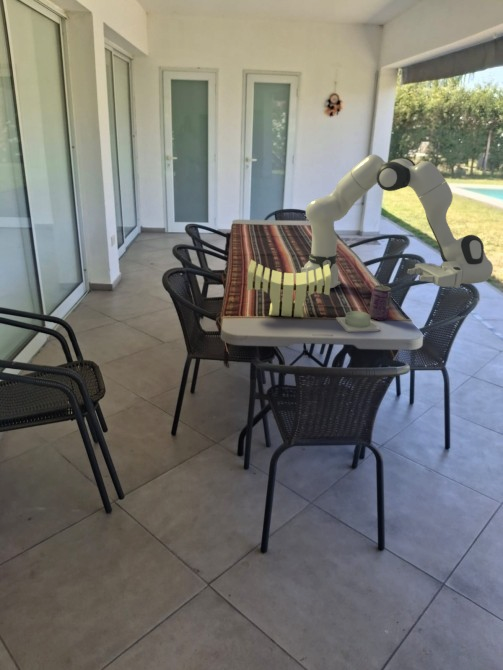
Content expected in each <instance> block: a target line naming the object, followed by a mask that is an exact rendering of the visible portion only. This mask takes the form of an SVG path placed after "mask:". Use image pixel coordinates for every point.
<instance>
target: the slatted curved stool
mask: <svg viewBox="0 0 503 670" xmlns="http://www.w3.org/2000/svg"><path fill="white" fill-rule="evenodd" d="M263 271H264V272H263ZM270 274H271V278H270ZM323 274H324V286H322V284H323V276H322V271H321V267H320V268H317V269H316V285H315V279H314V271H313V270H311V271H308V285H307V280H306V272H296V273H294V272H293V273H292V272H291V273H289V272H284V273H282V271H278V270H274V269H272V271H271V269H270V268H269V267H265V268H264V265H262V264H260V263H258V264H257V262H256V261H255V260H253V259H250V262H249V266H248V271H247V281H246V282H247V286H246V287H247V288H246V291H253V289H254V290H256V291H257V290H258V291H260V290H262V291H263V292H264V293H266V294H268V292H269V299H270V301H271V303H270V304H269V305H270V306H269V313H268V316H280V315H281V316H282V317H292V315H293V318H295V317H296V318H304V303H305V301H306V299H307V298H306V297H307V296H311V295H314V294H315V293H316V294H322V293H323V294H324V295H327V296H330V294H331V293H330V292H331V288H330V283H331V272H330V268H329V264H327V265H325V266H323ZM282 275H283V277H282ZM294 275H295V277H294ZM254 278H255V279H254ZM282 278H283V282H282ZM294 278H295V279H294ZM294 280H295V282H294ZM269 281H270V282H269ZM269 290H270V291H269ZM281 291H282V297H281ZM294 291H295V294H294ZM307 294H308V295H307ZM294 295H295V296H294ZM281 298H282V299H281ZM293 299H294V300H293ZM280 310H281V314H280Z"/></svg>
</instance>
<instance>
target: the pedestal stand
mask: <svg viewBox="0 0 503 670" xmlns="http://www.w3.org/2000/svg"><path fill="white" fill-rule="evenodd" d="M371 318H372V317H371V316H370V315H369V312H368V313H367V312H365V311H360V310H352V311H351V310H350V311H347V312H346V313H345V316H342V317H341V316H340V317H337V316H336V319H335V320H336V321H337V323H339V324H340V326H342V328H343V329H344V330H345V331H346V332H347V333H354V332H355V333H356V332H357V333H359V332H379V331H380V328H379V327H378V326H377V325H376V324H375V323H374V322H373V321H372V320H371Z"/></svg>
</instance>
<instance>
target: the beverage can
mask: <svg viewBox="0 0 503 670" xmlns="http://www.w3.org/2000/svg"><path fill="white" fill-rule="evenodd" d="M391 299H392V288H391V287H389V286H388V285H381V284H379V285H378V284H377V285H374V287H373V289H372V291H371V297H370V303H369V311H368V314H369V315H370V316H371V318H372V319H374V320H376V319H377V320H378V321H383V320H385V319H388V318H389V317H388V316H389V314H390V313H389V312H390V306H391V305H390V304H391ZM377 320H376V321H377Z"/></svg>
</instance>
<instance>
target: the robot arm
mask: <svg viewBox="0 0 503 670" xmlns="http://www.w3.org/2000/svg"><path fill="white" fill-rule="evenodd" d="M376 184H377V185H378V186H379V187H380V189H382V190H384V191H388V192H394V191H397V190H401V189H404V188H407V187H409V188H411V189H412V190H413V191H414V192H415V195H416V196H417V198H418V199H419V201H420V203H421V205H422V207H423V210H424V212H425V216H426V220H427V223H428V225H429V227H430V230H431V232H432V233H433V236H434V239H435V241H436V242H437V245H438V247H439V251H440V257H441V260H442V263H441V264H440V265H438V264H435V263H431V262H429V263H428V262H427V263H426V262H425V263H424V262H423V263H420V262H418V263H416V264H415V265H414V267H413V268H408V269H407V274H409V275H414V274H417V275H419V276H418V281H420V282H427V283H431V284H434V285H436V286H437V287H441V288H442V287H443V288H444V287H447V288H448V287H449V288H451V287H452V288H456V289H457V288H458V289H459V288H460V287H461V284H464V285H471V284H472V285H473V284H480V283H483V282H487V280H489V279H490V278H491V276H492V275H493V271H494V269H493V268H494V267H493V266H494V265H493V263H492V262H491V261H490V260H489V259H488V257H487V255H486V252H485V250H484V248H485V247H484V242H483V241H482V239H481V238H480V237H478V236H477V235H474V234H467V235H465V236H462V237H460V238H459V239H456V238H455V236H454V235H453V233H452V230H451V228H450V226H449V224H448V221H447V213H448V210H449V208H450V207H451V205H452V202H453V197H454V195H453V192H452V189H451V187H450V186H449V183H448V182H447V180H446V178H445V177H444V176H443V174H442V173H441V172H440V170H439V169H438V168H437V167H436V165H435V164H434V163H433V162H431V161H427V160H425V161H424V160H423V161H421V162H418V163H417V164H415V162H414V161H413V160H412V159H409V158H406V157H400V158H395V159H392V160H391V159H390V160H389V161H388V162H386V161H384V159H383V158H382V157H381V156H379V155H377V154H369V155H368V156H366V157H364V158H363V159H361V160H360V161H359V162H358V163H357V164H355V165H354V166H353V167H352V168H351V169H350V170H349V171H348V172H347V173H346V174H344V176H342V178H341V179H340V180H338V182H337V184H336V186H335V188H334V190H333V191H332V192H331V193H329V194H327V195H326V196H322V197H318V198H315V199H314V200H312V201H310V202H309V203H308V204H307V206H306V208H305V217H306V219H307V221H308V222H309V225H310V227H311V235H312V236H311V238H312V239H311V249H310V250H311V251H310V254H309V255H308V261H307V262H306V263H305V264H304V267H302V266H301V268H300V269H301V270H300V273H302V272H306V280H307V285H308V271H311V270H313V271H314V279H315V285H316V269H317V268H320V267H321V271H322V276H323V284H322V286H324V274H323V266H325V265H327V264H329V268H330V272H331V283H330V289H332V288H336V287H337V286H339V285H341V281H340V280H339V266H338V265H337V260H338V256H337V255H338V254H337V247H338V240H339V238H338V235H337V234H336V230H335V222H337V221H340V220H341V219H343V218H344V217H345V216H347V214H348V213H349V211H350V210H351V209H352V207H353V206H354V204H355V203H357V202H358V200H360V199H361V198H362V197H363V196H364V195H365V194H366V193H368V191H370V190H371V189H372V188H373V187H375V186H376Z"/></svg>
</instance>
